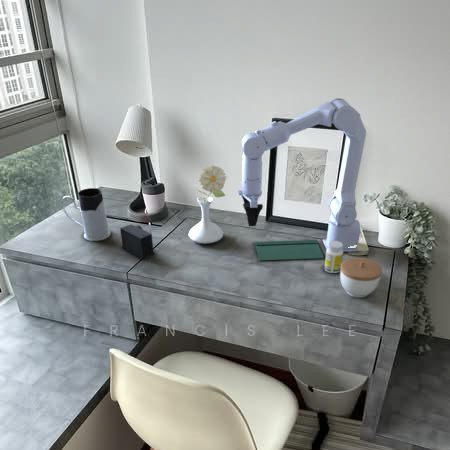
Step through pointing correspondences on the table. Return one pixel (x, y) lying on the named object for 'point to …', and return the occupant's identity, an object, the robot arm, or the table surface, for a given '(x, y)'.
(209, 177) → the flower in vase
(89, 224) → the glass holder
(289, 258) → the green board
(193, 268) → the table surface
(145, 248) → the digital camera
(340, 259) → the supplement bottle
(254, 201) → the robot arm
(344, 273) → the trinket box
